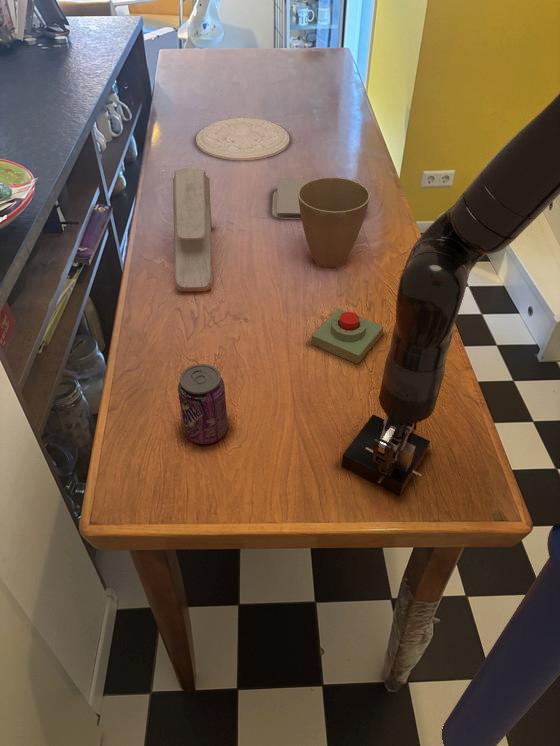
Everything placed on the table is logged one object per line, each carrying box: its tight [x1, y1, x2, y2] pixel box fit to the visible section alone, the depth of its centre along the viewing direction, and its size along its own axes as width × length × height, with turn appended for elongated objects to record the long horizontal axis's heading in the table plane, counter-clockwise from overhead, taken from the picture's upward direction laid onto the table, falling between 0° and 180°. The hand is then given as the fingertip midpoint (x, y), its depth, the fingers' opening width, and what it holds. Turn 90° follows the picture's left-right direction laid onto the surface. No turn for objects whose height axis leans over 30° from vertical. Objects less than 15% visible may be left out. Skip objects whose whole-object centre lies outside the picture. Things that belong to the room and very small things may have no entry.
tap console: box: [341, 414, 431, 497], centre depth 93 cm, size 12×12×3 cm
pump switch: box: [311, 308, 384, 365], centre depth 114 cm, size 10×10×4 cm
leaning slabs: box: [172, 167, 213, 292], centre depth 132 cm, size 8×25×23 cm
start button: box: [339, 311, 360, 331], centre depth 112 cm, size 4×4×2 cm
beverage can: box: [177, 363, 228, 445], centre depth 94 cm, size 7×7×12 cm
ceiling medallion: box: [195, 117, 290, 161], centre depth 180 cm, size 28×28×3 cm
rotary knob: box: [393, 438, 416, 473], centre depth 89 cm, size 5×2×5 cm, turn 56°
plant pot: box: [298, 176, 371, 269], centre depth 130 cm, size 15×15×16 cm
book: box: [271, 178, 359, 220], centre depth 152 cm, size 15×23×4 cm, turn 89°
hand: (393, 459), depth 90 cm, fingers open, 5 cm apart
